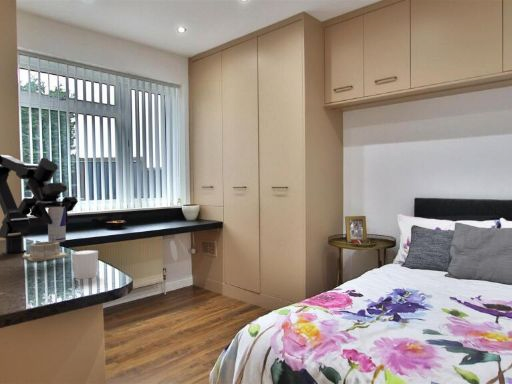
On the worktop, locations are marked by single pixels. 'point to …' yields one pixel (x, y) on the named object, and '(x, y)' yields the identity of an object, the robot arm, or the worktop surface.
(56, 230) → the energy drink
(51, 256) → the cup bracket
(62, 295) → the worktop surface
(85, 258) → the white cup
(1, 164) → the robot arm
